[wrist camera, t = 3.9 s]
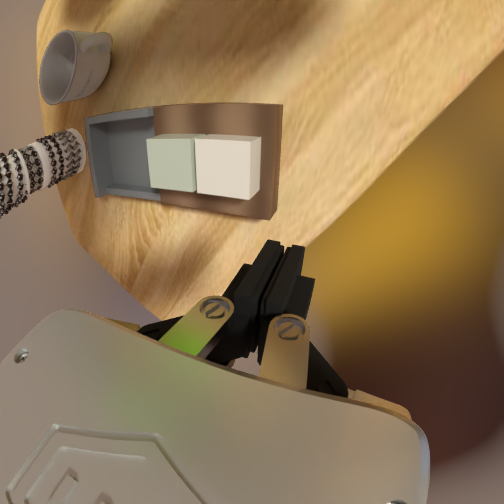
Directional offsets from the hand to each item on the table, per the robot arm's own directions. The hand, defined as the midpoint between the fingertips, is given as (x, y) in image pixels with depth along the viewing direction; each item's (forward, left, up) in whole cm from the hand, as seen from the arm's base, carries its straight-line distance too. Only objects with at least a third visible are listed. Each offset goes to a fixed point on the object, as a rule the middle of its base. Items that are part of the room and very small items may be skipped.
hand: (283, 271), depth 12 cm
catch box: (+25, 0, -19) cm, 31 cm away
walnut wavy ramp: (+12, 0, -19) cm, 22 cm away
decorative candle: (+41, -1, -19) cm, 45 cm away
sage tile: (+15, 0, -16) cm, 22 cm away
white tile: (+9, 0, -16) cm, 18 cm away
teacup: (+31, -15, -19) cm, 39 cm away
